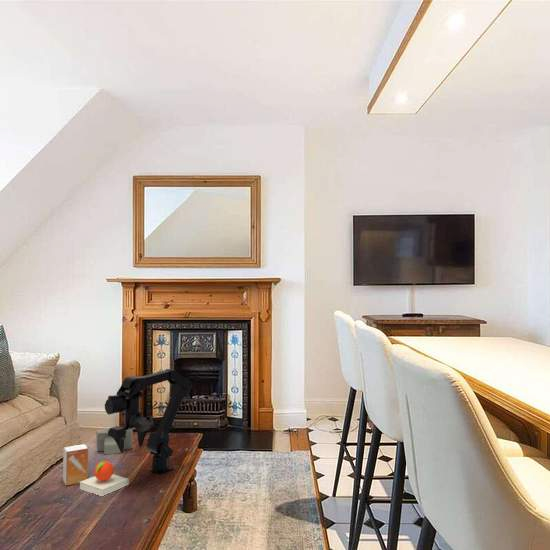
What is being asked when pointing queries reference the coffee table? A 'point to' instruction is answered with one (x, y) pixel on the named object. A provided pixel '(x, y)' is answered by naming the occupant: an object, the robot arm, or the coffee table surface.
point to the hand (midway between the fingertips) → (131, 449)
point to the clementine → (104, 470)
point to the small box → (75, 464)
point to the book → (103, 485)
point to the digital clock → (112, 442)
